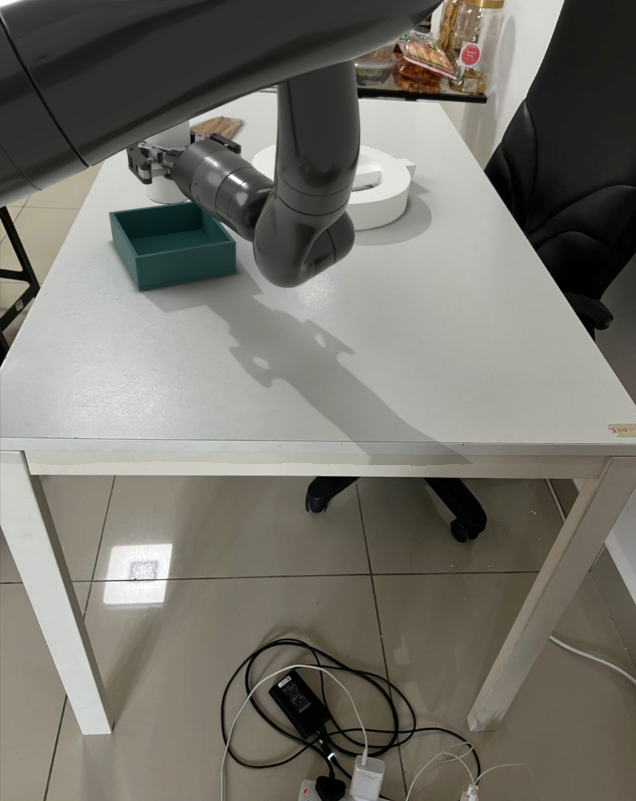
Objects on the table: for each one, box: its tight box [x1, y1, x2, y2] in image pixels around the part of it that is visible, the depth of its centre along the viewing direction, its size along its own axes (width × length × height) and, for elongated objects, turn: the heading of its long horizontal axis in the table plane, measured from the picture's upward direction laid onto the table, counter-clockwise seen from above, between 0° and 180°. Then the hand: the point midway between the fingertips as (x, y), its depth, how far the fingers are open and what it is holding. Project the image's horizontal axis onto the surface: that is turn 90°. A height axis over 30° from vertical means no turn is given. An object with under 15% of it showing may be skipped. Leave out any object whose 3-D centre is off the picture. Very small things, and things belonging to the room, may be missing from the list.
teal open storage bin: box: [108, 200, 237, 292], centre depth 93 cm, size 14×14×5 cm
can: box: [143, 120, 191, 205], centre depth 84 cm, size 6×6×12 cm
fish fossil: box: [190, 115, 243, 140], centre depth 132 cm, size 26×10×1 cm, turn 167°
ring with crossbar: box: [251, 143, 417, 231], centre depth 115 cm, size 28×28×5 cm
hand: (157, 138), depth 85 cm, fingers closed on can, 6 cm apart
